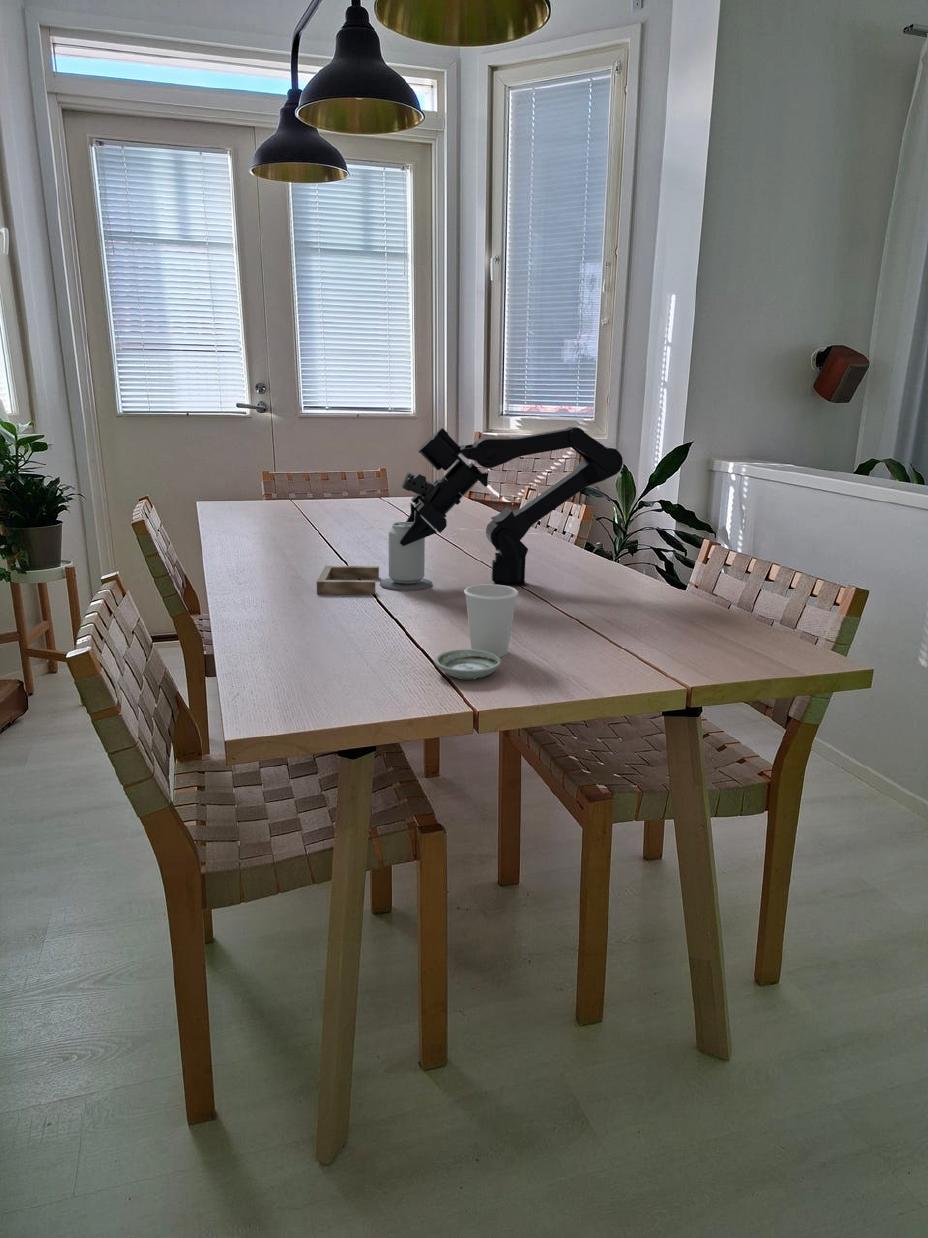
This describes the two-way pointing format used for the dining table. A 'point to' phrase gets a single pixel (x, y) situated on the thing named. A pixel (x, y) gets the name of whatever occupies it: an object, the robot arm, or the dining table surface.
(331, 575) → the wooden frame
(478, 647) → the dixie cup
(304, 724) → the dining table surface
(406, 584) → the pad
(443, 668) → the saucer
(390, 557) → the can
